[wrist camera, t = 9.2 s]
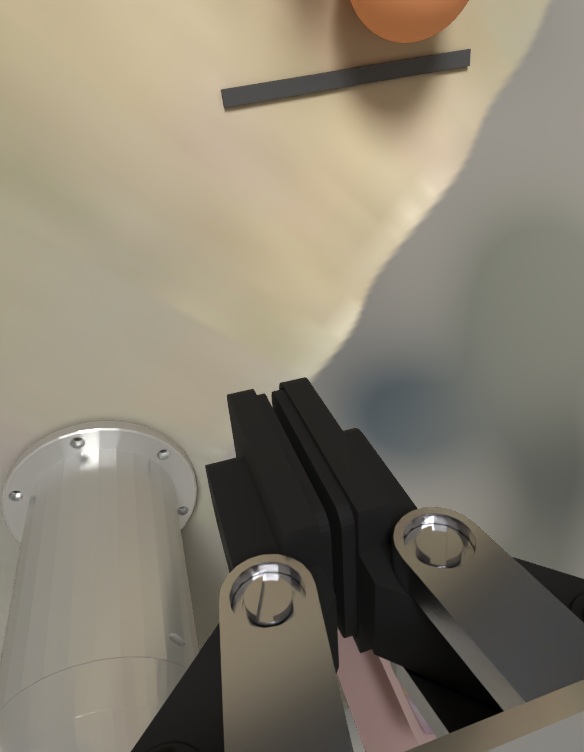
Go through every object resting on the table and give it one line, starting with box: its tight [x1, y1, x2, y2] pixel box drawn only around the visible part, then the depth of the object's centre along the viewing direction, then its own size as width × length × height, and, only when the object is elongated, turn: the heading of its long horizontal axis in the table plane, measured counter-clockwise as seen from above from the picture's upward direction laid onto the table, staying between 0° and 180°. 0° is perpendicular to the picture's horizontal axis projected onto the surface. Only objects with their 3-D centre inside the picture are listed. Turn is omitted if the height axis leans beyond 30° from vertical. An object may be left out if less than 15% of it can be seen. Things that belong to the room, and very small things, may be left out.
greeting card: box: [337, 630, 437, 752], centre depth 49 cm, size 11×7×15 cm, turn 52°
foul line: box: [221, 49, 471, 107], centre depth 28 cm, size 1×14×1 cm, turn 97°
